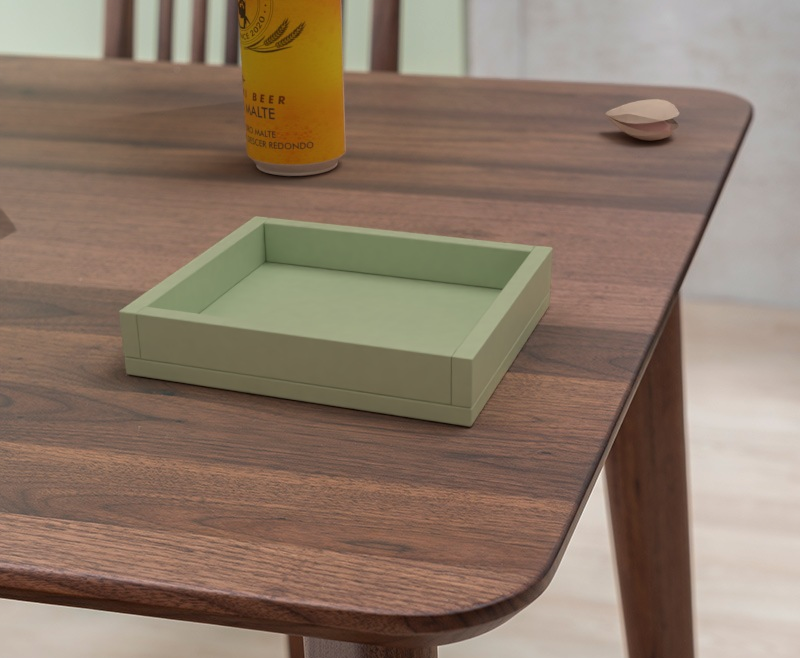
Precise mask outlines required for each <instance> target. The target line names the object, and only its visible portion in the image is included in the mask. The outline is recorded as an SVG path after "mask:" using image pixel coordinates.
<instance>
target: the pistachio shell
mask: <svg viewBox="0 0 800 658" xmlns="http://www.w3.org/2000/svg"><path fill="white" fill-rule="evenodd" d="M679 115H680V111H679V110H678V108H677V107H676V106H675V104H673V103H672V102H670V101H668V100H665V99H660V98H651V99H642V100H636V101H632V102H628V103H625V104H622V105H619V106H616V107H614V108H612V109H609V110H607V111H606V112H605V116H606V117H607V118H608V120H610V121H611V123H612V124H613V125H615V126H616V127H617V128H618V129H619V130H620V131H622V132H623V133H625V134H627V136H630V137H632V138H634V139H637V140H641V141H650V142H652V141H658V140H659V141H660V140H663V139H668V138H669V137H670V136H672V135H673V134H674V133H675V131H676V130H677V129H678V128H679V123H678V122H677V121H676V120H675V119H674V118H676V117H678V116H679Z"/></svg>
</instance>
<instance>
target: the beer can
mask: <svg viewBox="0 0 800 658" xmlns="http://www.w3.org/2000/svg"><path fill="white" fill-rule="evenodd" d="M236 2H237V16H238V17H237V18H238V31H239V47H240V65H241V77H242V78H241V79H242V96H243V107H244V108H243V110H244V125H245V127H244V128H245V142H246V154H247V157H248V158H249V159H251V161H253V162H254V163H255V165H256V168H257V169H258V170H259V171H260V172H263V173H266V174H270V175H274V176H283V177H304V176H313V175H318V174H323V173H326V172H329V171H332V170H334V169H335V168H337V166H338V163H339V161H340V159H341V158H342V157H343V156H344V155H345V154H346V117H345V111H346V110H345V83H344V82H345V81H344V80H345V79H344V77H345V75H344V47H343V46H344V45H343V44H344V43H343V42H344V41H343V40H344V39H343V10H342V9H343V8H342V0H236Z"/></svg>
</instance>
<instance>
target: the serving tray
mask: <svg viewBox="0 0 800 658" xmlns="http://www.w3.org/2000/svg"><path fill="white" fill-rule="evenodd" d="M553 255H554V248H553V247H552V246H544V245H543V246H542V245H531V244H522V243H521V244H520V243H512V242H501V241H494V240H493V241H492V240H482V239H474V238H466V237H465V238H464V237H455V236H447V235H438V234H437V235H436V234H427V233H417V232H408V231H399V230H389V229H380V228H371V227H362V226H361V227H360V226H351V225H343V224H342V225H341V224H334V223H332V224H331V223H323V222H314V221H304V220H296V219H285V218H276V217H268V216H259V215H255V216H253V217H252V218H250V219H249V220H248V221H246V222H245V223H243V224H242V225H240V226H239V227H238V228H236V229H234V230H233V231H232V232H231V233H229V234H228V235H226V236H225V237H222V239H220V240H219V241H217V242H216V243H214V244H213V245H212V246H210V247H209V248H208V249H206V250H205V251H203V252H202V253H200V254H199V255H197V256H196V257H194V258H193V259H192V260H190V261H189V262H187V263H186V264H185V265H183V266H182V267H180V268H179V269H177V270H176V271H174V272H173V273H172V274H170V275H169V276H167V277H166V278H164V279H163V280H162V281H160V282H159V283H157V284H156V285H154V286H153V287H152V288H150V289H149V290H147V291H146V292H143V294H141V295H140V296H139V297H137V298H135V299H134V300H133V301H131V302H130V303H128V304H127V305H125V306H123V308H121V309H120V310H118V315H119V326H120V334H121V342H122V352H123V356H124V367H125V373H126V375H129V376H136V377H142V378H148V379H149V378H150V379H155V380H163V381H169V382H177V383H182V384H188V385H194V386H201V387H207V388H213V389H220V390H227V391H233V392H239V393H246V394H247V393H248V394H253V395H260V396H267V397H273V398H279V399H287V400H293V401H299V402H306V403H312V404H319V405H324V406H330V407H331V406H332V407H333V406H334V407H339V408H345V409H352V410H353V409H354V410H359V411H364V412H371V413H378V414H384V415H390V416H397V417H404V418H410V419H415V420H416V419H417V420H424V421H430V422H437V423H443V424H450V425H457V426H463V427H468V428H469V427H472V426H473V424H474V423H475V422H476V420H477V418H478V417H479V416H480V414H481V412H482V410H483V409H484V407H485V406H486V404H487V403H488V402H489V399H490V398H491V397H492V395H493V394H494V392H495V391H496V389H497V387H498V386H499V384H500V382H501V381H502V379H504V377H505V375H506V374H507V372H508V371H509V369H510V368H511V366H512V364H513V363H514V361H515V359H516V358H517V356H518V355H519V354H520V352H521V350H522V349H523V347H524V346H525V344H526V343H527V341H528V340H529V338H530V336H532V334H533V332H534V330H535V329H536V327H537V326H538V324H539V322H540V321H541V319H542V318H543V316H544V315H545V313H546V312H547V310H548V309H549V307H550V305H551V293H552V292H551V289H552V275H553V274H552V273H553Z"/></svg>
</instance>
